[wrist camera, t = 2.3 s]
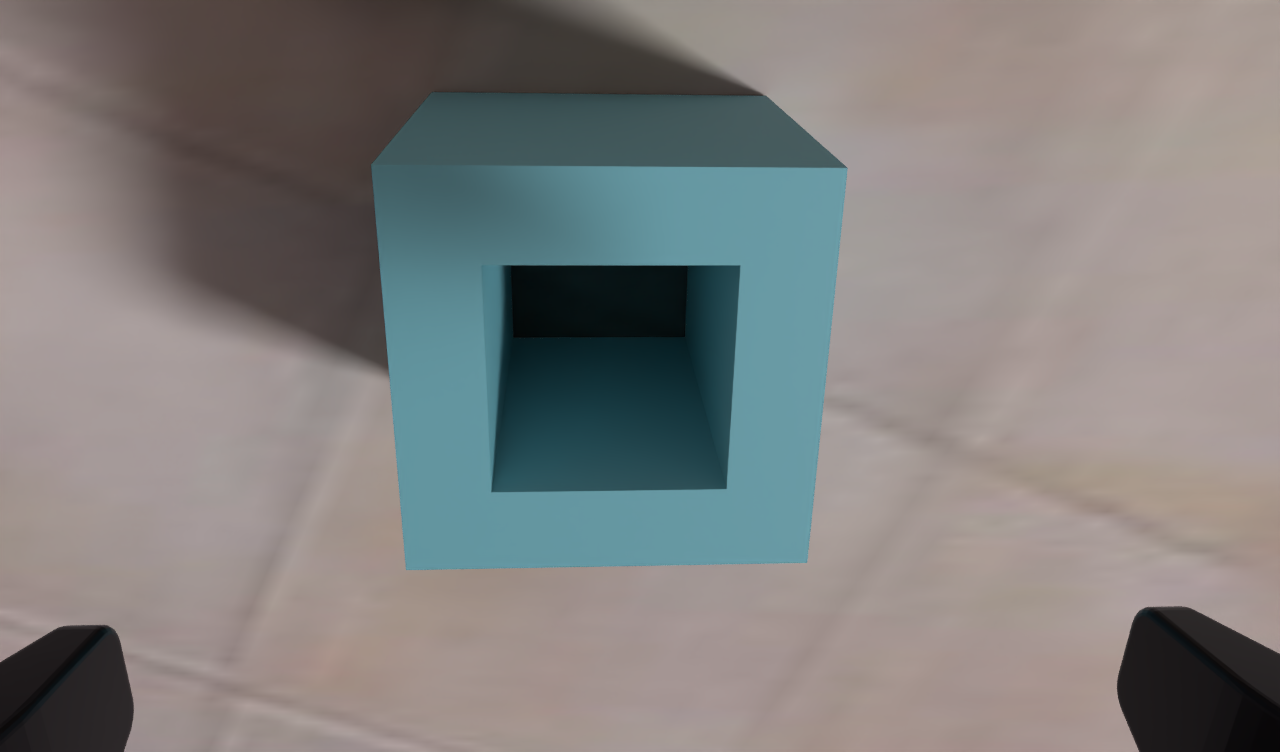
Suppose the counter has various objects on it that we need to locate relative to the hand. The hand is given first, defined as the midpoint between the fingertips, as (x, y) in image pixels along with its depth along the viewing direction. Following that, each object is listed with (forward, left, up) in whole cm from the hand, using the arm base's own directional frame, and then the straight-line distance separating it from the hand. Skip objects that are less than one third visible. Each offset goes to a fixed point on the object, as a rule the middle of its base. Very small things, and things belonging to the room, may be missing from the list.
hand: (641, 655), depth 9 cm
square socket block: (0, 0, -12) cm, 12 cm away
